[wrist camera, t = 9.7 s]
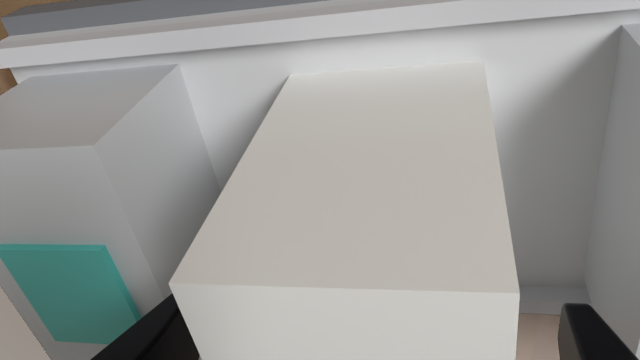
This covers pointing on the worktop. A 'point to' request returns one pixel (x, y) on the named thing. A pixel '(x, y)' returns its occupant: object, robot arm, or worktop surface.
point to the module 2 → (619, 203)
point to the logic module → (360, 226)
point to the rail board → (379, 52)
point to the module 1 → (98, 200)
